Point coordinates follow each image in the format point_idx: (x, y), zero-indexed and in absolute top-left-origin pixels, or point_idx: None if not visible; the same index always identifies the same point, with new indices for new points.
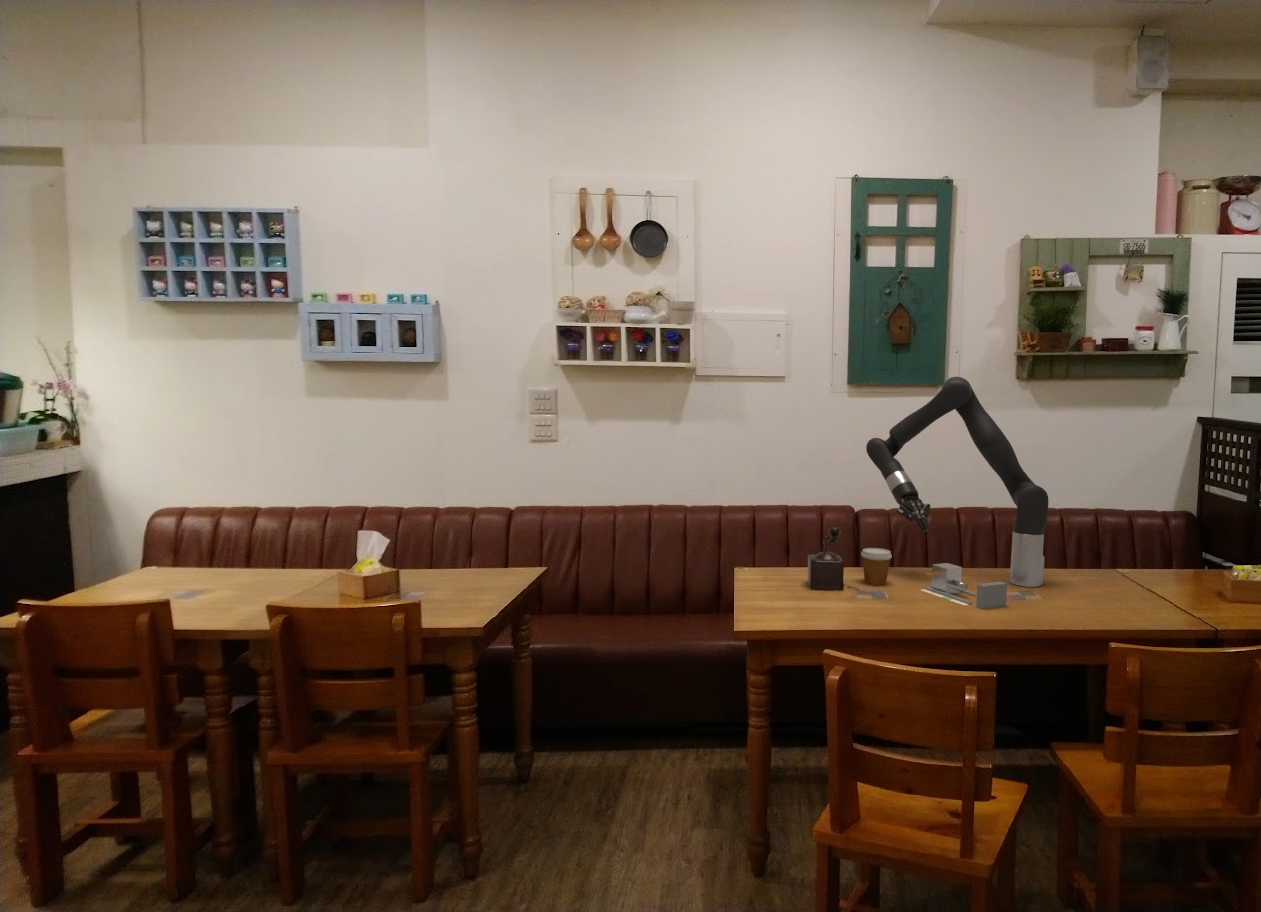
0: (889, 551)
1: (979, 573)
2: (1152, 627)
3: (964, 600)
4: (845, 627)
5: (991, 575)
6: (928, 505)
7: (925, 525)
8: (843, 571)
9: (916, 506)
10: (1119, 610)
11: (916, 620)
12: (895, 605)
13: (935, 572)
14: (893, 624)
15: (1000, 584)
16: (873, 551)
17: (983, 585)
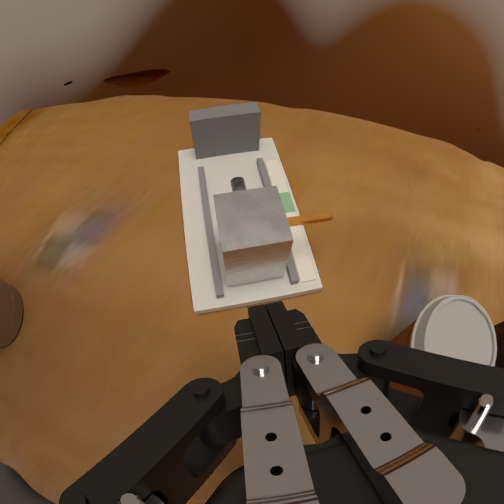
0: (428, 332)
1: (23, 431)
2: (77, 103)
3: (265, 168)
4: (472, 155)
5: (11, 404)
6: (87, 499)
7: (277, 311)
8: (502, 322)
9: (320, 486)
10: (35, 154)
11: (385, 146)
12: (400, 217)
13: (298, 218)
14: (420, 144)
15: (208, 108)
16: (469, 352)
17: (253, 105)
